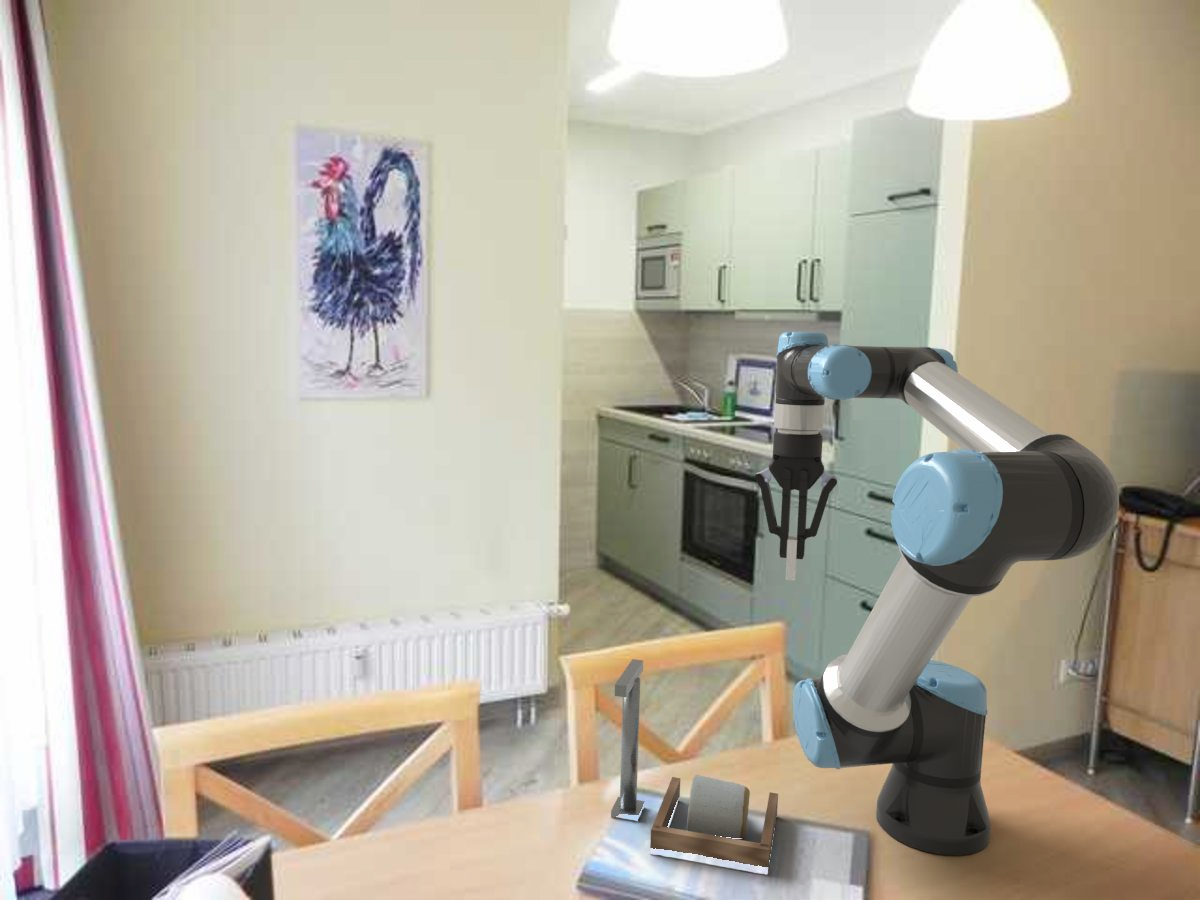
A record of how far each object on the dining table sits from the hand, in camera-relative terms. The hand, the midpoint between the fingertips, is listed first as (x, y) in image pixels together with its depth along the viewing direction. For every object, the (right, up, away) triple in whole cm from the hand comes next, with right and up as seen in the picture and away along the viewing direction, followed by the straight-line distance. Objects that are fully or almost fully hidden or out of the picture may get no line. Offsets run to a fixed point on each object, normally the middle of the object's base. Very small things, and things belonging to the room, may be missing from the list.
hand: (790, 577), depth 140 cm
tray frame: (-14, -33, -19) cm, 40 cm away
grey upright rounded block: (-14, -33, -17) cm, 40 cm away
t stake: (-27, -32, -15) cm, 44 cm away
